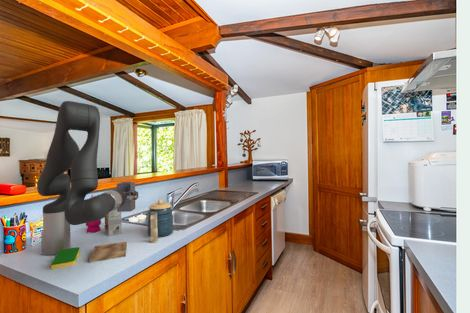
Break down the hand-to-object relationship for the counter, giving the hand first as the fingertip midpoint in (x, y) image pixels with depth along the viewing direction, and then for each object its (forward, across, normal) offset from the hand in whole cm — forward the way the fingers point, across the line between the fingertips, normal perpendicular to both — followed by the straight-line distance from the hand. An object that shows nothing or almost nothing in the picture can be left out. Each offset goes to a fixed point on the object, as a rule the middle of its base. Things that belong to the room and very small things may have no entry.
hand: (128, 193), depth 101 cm
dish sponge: (-11, +20, +24) cm, 33 cm away
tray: (-7, +5, +24) cm, 25 cm away
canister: (+16, -10, +24) cm, 30 cm away
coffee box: (+20, +16, +24) cm, 35 cm away
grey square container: (-3, 0, +7) cm, 7 cm away
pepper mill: (+25, +28, +24) cm, 44 cm away
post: (+4, -10, +24) cm, 26 cm away
